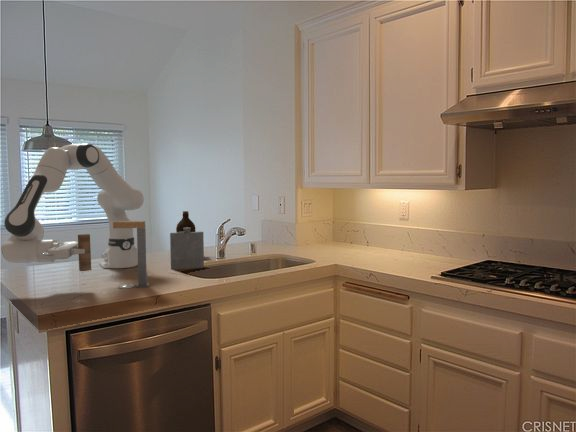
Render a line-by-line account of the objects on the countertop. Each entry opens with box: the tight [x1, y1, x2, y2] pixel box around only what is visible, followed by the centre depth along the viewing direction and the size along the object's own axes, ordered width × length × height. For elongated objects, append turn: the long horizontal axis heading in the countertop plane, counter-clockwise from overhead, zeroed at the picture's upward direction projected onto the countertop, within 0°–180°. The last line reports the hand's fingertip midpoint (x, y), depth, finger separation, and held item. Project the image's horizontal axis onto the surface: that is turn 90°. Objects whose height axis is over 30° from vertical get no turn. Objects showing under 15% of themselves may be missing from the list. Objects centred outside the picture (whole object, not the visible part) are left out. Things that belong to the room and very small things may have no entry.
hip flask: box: [169, 227, 205, 270], centre depth 227 cm, size 16×4×20 cm, turn 109°
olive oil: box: [175, 210, 196, 233], centre depth 264 cm, size 11×11×25 cm
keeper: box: [113, 220, 150, 290], centre depth 189 cm, size 13×7×26 cm, turn 101°
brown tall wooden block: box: [77, 233, 92, 272], centre depth 184 cm, size 4×4×14 cm
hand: (86, 249), depth 184 cm, fingers closed on brown tall wooden block, 4 cm apart
